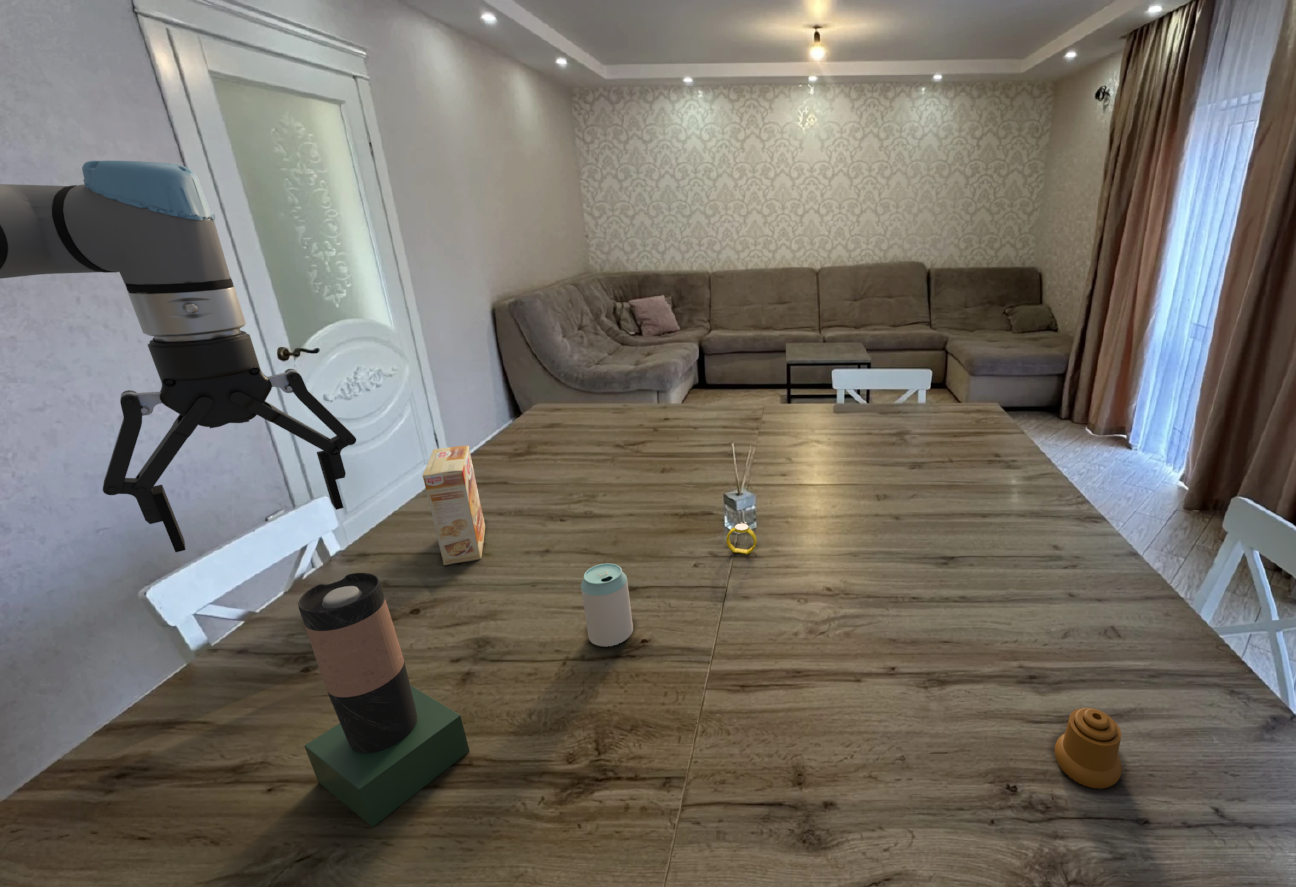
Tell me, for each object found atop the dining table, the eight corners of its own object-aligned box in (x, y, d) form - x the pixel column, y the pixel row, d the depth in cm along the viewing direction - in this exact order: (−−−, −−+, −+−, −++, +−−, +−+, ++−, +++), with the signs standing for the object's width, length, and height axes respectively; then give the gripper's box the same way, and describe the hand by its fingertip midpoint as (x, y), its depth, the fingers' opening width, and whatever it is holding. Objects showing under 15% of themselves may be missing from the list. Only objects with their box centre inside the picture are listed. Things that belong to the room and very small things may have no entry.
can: (641, 625, 102) (634, 564, 97) (619, 653, 95) (610, 588, 91) (604, 618, 103) (595, 558, 99) (580, 645, 97) (569, 581, 93)
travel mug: (395, 756, 70) (349, 612, 63) (330, 755, 71) (277, 612, 63) (433, 706, 77) (395, 571, 70) (374, 705, 78) (330, 571, 70)
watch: (725, 555, 122) (724, 529, 120) (729, 547, 125) (727, 522, 123) (755, 557, 122) (754, 530, 119) (757, 549, 124) (756, 524, 122)
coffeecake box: (482, 559, 122) (462, 470, 115) (442, 566, 119) (420, 475, 112) (486, 525, 135) (469, 443, 128) (451, 532, 132) (431, 448, 125)
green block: (372, 828, 69) (358, 789, 66) (318, 782, 74) (303, 745, 72) (470, 751, 78) (460, 715, 76) (415, 716, 84) (405, 681, 82)
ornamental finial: (1106, 805, 70) (1043, 766, 75) (1128, 766, 75) (1067, 732, 80) (1119, 753, 68) (1052, 716, 73) (1141, 716, 72) (1077, 684, 77)
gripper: (-7, 359, 49) (98, 583, 57) (356, 323, 66) (400, 500, 73) (7, 346, 54) (102, 553, 62) (341, 315, 71) (384, 481, 78)
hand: (264, 524), depth 67 cm, fingers open, 13 cm apart
